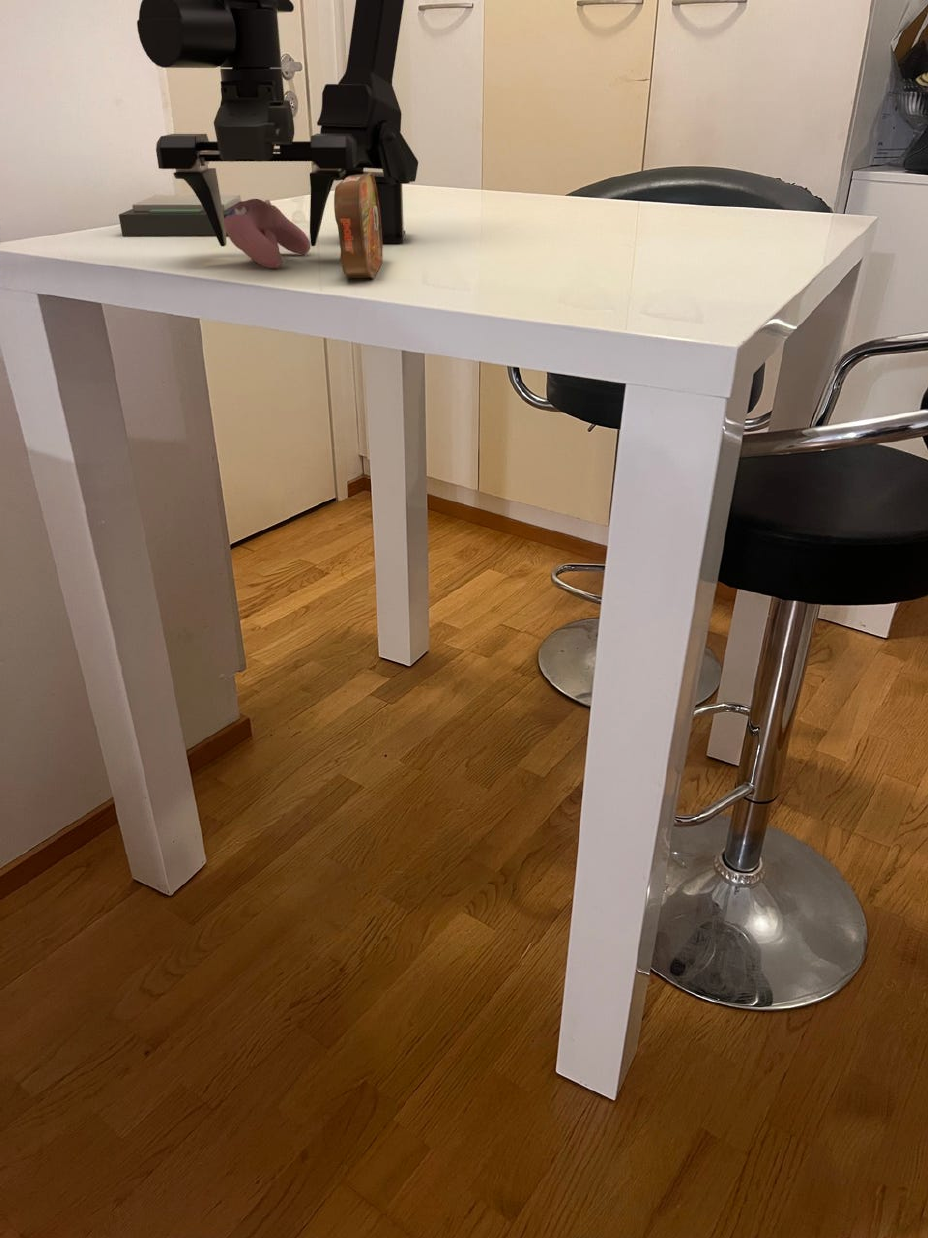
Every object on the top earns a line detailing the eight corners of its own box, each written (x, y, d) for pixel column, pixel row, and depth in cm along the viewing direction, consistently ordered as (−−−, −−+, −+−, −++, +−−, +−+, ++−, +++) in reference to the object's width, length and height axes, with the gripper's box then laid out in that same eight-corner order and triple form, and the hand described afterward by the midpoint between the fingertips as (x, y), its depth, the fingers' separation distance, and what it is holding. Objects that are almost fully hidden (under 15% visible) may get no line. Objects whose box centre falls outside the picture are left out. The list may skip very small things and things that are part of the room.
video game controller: (282, 267, 102) (248, 204, 99) (316, 248, 100) (282, 183, 97) (245, 284, 93) (207, 216, 91) (282, 264, 91) (244, 193, 89)
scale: (251, 220, 123) (248, 194, 121) (231, 235, 112) (228, 206, 110) (152, 221, 123) (148, 194, 121) (122, 235, 111) (117, 206, 110)
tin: (370, 285, 85) (364, 183, 81) (335, 285, 85) (328, 183, 81) (385, 257, 98) (381, 168, 94) (355, 257, 98) (350, 168, 94)
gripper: (125, 67, 81) (155, 259, 89) (341, 67, 81) (352, 258, 89) (160, 68, 91) (184, 241, 98) (353, 68, 91) (362, 240, 99)
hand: (268, 245), depth 96 cm, fingers open, 9 cm apart
